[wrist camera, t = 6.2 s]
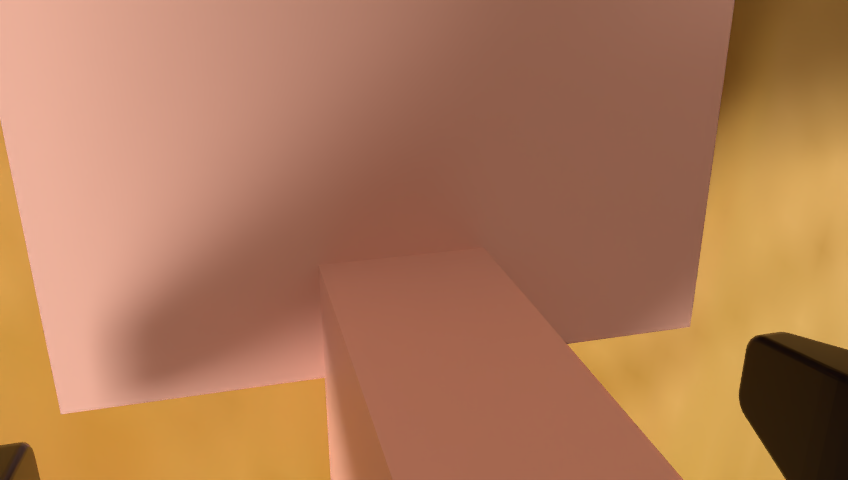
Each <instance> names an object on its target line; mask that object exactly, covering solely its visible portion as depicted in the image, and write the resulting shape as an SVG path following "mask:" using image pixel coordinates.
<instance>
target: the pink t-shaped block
mask: <svg viewBox="0 0 848 480" xmlns="http://www.w3.org/2000/svg"><path fill="white" fill-rule="evenodd" d="M734 2H735V0H0V120H1V125H2V130H3V135H4V140H5V145H6V149H7V154H8V159H9V164H10V169H11V174H12V179H13V183H14V188H15V193H16V198H17V203H18V208H19V213H20V217H21V222H22V227H23V232H24V237H25V242H26V247H27V251H28V256H29V261H30V266H31V271H32V276H33V281H34V285H35V290H36V295H37V300H38V305H39V310H40V315H41V320H42V324H43V329H44V334H45V339H46V344H47V349H48V354H49V358H50V363H51V368H52V373H53V378H54V383H55V388H56V392H57V397H58V402H59V407H60V412H61V414H66V413H73V412H80V411H88V410H95V409H102V408H109V407H116V406H123V405H131V404H138V403H145V402H152V401H159V400H167V399H174V398H181V397H188V396H195V395H203V394H210V393H217V392H224V391H231V390H239V389H246V388H253V387H260V386H267V385H275V384H282V383H289V382H296V381H303V380H311V379H318V378H325V387H326V405H327V422H328V439H329V456H330V474H331V480H683V479H682V478H681V476H680V475H679V474H678V473H677V472H676V471H675V469H674V468H673V467H672V466H671V465H670V464H669V462H668V461H667V460H666V459H665V458H664V457H663V455H662V454H661V453H660V452H659V451H658V450H657V448H656V447H655V446H654V445H653V444H652V443H651V441H650V440H649V439H648V438H647V437H646V436H645V434H644V433H643V432H642V431H641V430H640V429H639V428H638V426H637V425H636V424H635V423H634V422H633V421H632V419H631V418H630V417H629V416H628V415H627V414H626V412H625V411H624V410H623V409H622V408H621V407H620V405H619V404H618V403H617V402H616V401H615V400H614V398H613V397H612V396H611V395H610V394H609V393H608V391H607V390H606V389H605V388H604V387H603V386H602V384H601V383H600V382H599V381H598V380H597V379H596V377H595V376H594V375H593V374H592V373H591V372H590V370H589V369H588V368H587V367H586V366H585V365H584V363H583V362H582V361H581V360H580V359H579V358H578V357H577V355H576V354H575V353H574V352H573V351H572V350H571V348H570V347H569V346H568V345H567V344H569V343H577V342H584V341H591V340H598V339H605V338H613V337H620V336H627V335H634V334H641V333H649V332H656V331H663V330H670V329H677V328H685V327H690V323H691V316H692V309H693V301H694V294H695V287H696V279H697V272H698V265H699V257H700V250H701V243H702V236H703V228H704V221H705V214H706V206H707V199H708V192H709V185H710V177H711V170H712V163H713V155H714V148H715V141H716V134H717V126H718V119H719V112H720V104H721V97H722V90H723V82H724V75H725V68H726V61H727V53H728V46H729V39H730V31H731V24H732V17H733V10H734Z"/></svg>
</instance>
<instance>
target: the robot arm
mask: <svg viewBox="0 0 848 480" xmlns="http://www.w3.org/2000/svg"><path fill="white" fill-rule="evenodd" d="M739 401H740V406H741V409H742V411H743V413H744V415H745V417H746V418H747V420H748V421H749V423H750V424H751V426H752V428H753V429H754V431H755V432H756V434H757V435H758V437H759V438H760V440H761V442H762V443H763V445H764V446H765V448H766V449H767V451H768V452H769V454H770V456H771V457H772V459H773V460H774V462H775V463H776V465H777V466H778V468H779V470H780V471H781V473H782V474H783V476H784V477H785V479H786V480H848V350H847V349H843V348H840V347H836V346H833V345H829V344H826V343H822V342H819V341H815V340H812V339H808V338H804V337H801V336H797V335H794V334H790V333H786V332H776V333H770V334H763V335H757V336H755V337H753V338H752V339H751V340H750V341H749V343H748V345H747V348H746V353H745V359H744V365H743V371H742V377H741V383H740V389H739ZM0 480H40V477H39V473H38V468H37V464H36V459H35V455H34V452H33V450H32V448H31V447H30V446H29V445H28V444H27V443H23V442H21V443H13V444H6V445H0Z"/></svg>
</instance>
